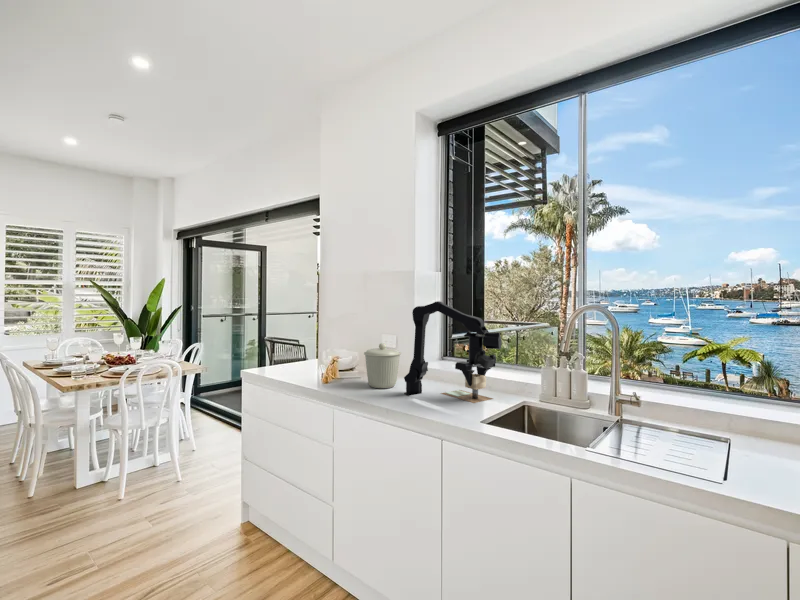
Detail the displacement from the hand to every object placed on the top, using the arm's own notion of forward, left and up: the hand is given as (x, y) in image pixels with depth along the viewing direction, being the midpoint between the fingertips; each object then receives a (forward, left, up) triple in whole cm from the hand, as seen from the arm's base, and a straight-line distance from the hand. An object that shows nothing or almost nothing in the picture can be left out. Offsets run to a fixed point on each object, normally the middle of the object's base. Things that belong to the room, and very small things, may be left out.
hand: (475, 385), depth 177 cm
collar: (0, 0, -1) cm, 1 cm away
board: (0, +5, -7) cm, 9 cm away
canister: (-15, +47, -7) cm, 50 cm away
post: (0, 0, -6) cm, 6 cm away
